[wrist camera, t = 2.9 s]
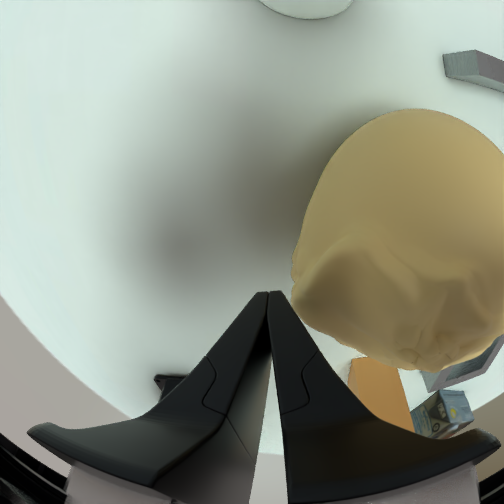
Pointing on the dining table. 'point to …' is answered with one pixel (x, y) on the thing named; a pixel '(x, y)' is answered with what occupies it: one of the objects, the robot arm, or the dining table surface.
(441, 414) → the beverage carton
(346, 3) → the beer glass
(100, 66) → the dining table surface
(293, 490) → the robot arm
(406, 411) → the orange rectangular block
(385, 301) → the sculpture
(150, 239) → the dining table surface
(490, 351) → the grey flat openwork piece
